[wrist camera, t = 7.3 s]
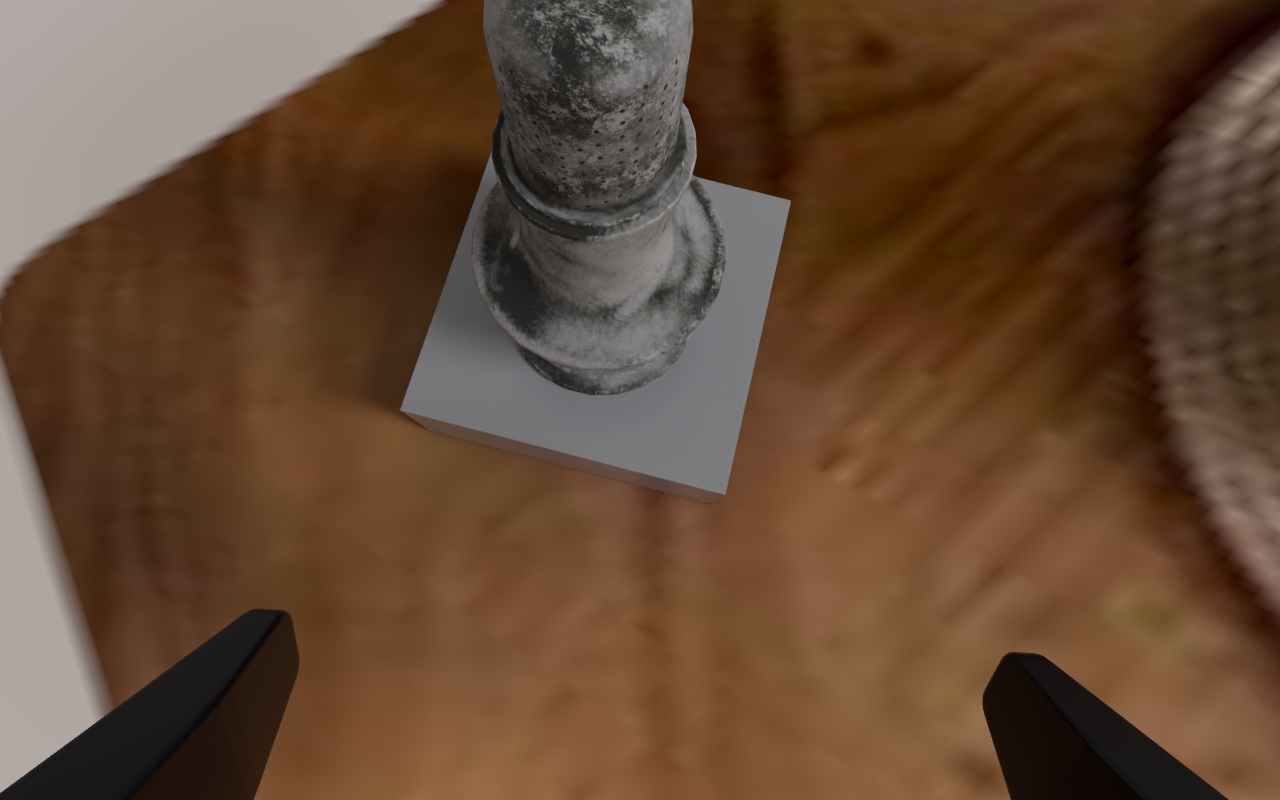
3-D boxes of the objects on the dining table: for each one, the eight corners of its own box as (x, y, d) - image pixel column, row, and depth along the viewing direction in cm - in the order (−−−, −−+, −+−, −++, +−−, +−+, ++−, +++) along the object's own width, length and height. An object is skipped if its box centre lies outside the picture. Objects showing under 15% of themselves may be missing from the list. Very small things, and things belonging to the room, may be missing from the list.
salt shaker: (734, 253, 19) (921, -225, 8) (662, 438, 18) (753, 206, 6) (547, 183, 19) (448, -381, 8) (462, 360, 18) (188, -3, 6)
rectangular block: (709, 504, 20) (725, 494, 17) (430, 431, 21) (399, 410, 18) (767, 247, 23) (791, 200, 20) (514, 183, 23) (499, 128, 20)
